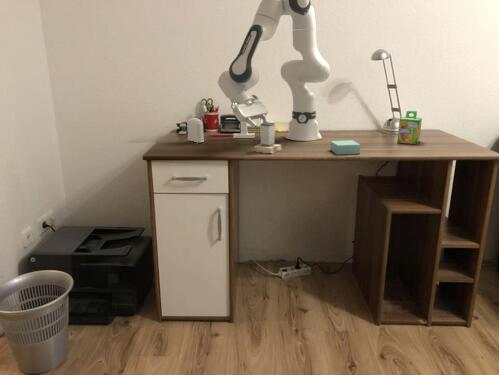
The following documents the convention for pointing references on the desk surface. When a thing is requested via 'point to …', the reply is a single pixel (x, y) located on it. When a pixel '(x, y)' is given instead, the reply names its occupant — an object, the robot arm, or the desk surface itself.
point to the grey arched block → (195, 130)
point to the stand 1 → (267, 148)
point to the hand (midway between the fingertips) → (261, 125)
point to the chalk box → (409, 129)
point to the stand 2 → (345, 147)
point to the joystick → (244, 132)
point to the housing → (267, 134)
